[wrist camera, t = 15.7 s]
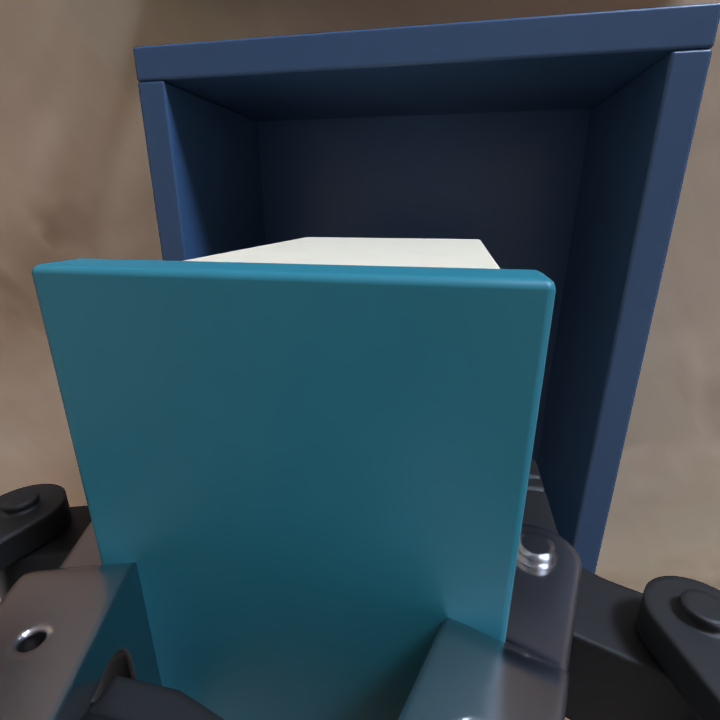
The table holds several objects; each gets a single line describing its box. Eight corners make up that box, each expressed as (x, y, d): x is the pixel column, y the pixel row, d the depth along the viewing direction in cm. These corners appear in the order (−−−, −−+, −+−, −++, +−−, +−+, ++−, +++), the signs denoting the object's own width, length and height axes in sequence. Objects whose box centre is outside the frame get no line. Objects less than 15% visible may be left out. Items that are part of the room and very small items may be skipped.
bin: (536, 543, 22) (570, 685, 15) (277, 506, 24) (212, 614, 18) (611, 88, 15) (725, 1, 9) (248, 104, 18) (131, 45, 11)
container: (312, 541, 15) (170, 863, 8) (298, 228, 12) (25, 264, 4) (459, 564, 14) (460, 955, 7) (489, 230, 11) (560, 280, 3)
